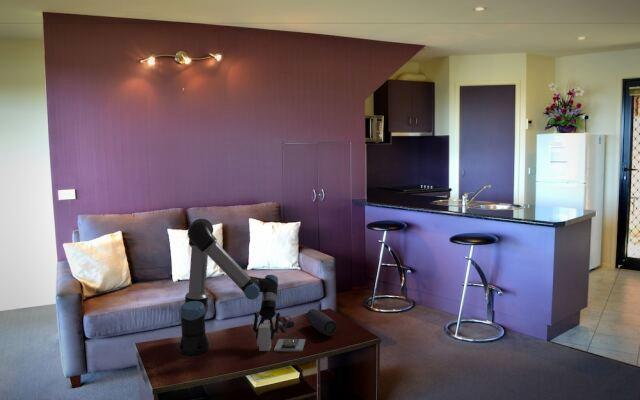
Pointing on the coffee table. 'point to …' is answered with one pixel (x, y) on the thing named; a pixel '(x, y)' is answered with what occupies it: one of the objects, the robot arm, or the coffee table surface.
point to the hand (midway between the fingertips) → (263, 345)
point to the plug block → (264, 336)
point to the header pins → (288, 344)
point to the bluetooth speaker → (321, 322)
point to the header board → (297, 342)
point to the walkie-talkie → (285, 322)
